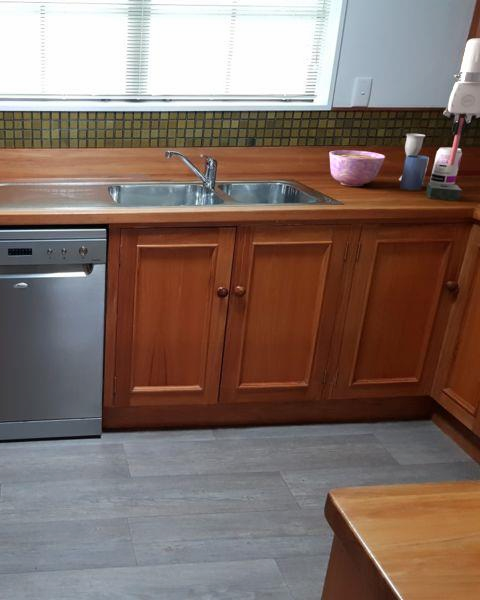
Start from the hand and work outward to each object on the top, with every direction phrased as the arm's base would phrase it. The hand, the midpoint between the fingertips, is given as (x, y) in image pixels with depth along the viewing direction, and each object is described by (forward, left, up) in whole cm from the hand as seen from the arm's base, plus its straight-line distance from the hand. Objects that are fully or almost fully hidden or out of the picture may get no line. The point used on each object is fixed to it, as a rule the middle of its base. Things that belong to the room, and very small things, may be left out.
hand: (458, 134), depth 211 cm
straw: (0, 0, -11) cm, 11 cm away
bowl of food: (+30, -11, -22) cm, 39 cm away
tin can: (+9, -12, -22) cm, 27 cm away
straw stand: (0, 0, -22) cm, 22 cm away
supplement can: (-2, -17, -22) cm, 28 cm away
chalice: (+9, -29, -22) cm, 38 cm away
